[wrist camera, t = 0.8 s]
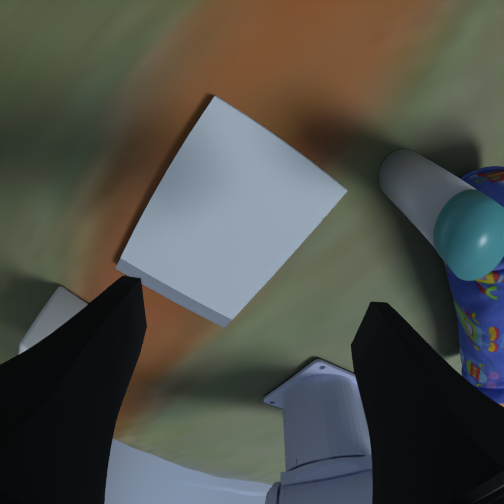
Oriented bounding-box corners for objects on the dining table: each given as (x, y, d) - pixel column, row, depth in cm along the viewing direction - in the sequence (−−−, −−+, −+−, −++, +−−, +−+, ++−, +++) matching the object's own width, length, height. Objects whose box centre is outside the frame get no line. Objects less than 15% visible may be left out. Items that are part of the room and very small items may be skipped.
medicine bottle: (46, 327, 25) (-6, 425, 14) (60, 282, 22) (-13, 397, 11) (107, 364, 27) (70, 469, 16) (131, 328, 24) (85, 456, 13)
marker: (435, 173, 17) (520, 236, 9) (402, 212, 18) (471, 293, 11) (402, 136, 16) (493, 185, 8) (366, 179, 17) (435, 253, 10)
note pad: (344, 187, 17) (347, 191, 17) (225, 322, 23) (224, 327, 22) (216, 95, 15) (214, 96, 14) (118, 263, 20) (115, 268, 20)
